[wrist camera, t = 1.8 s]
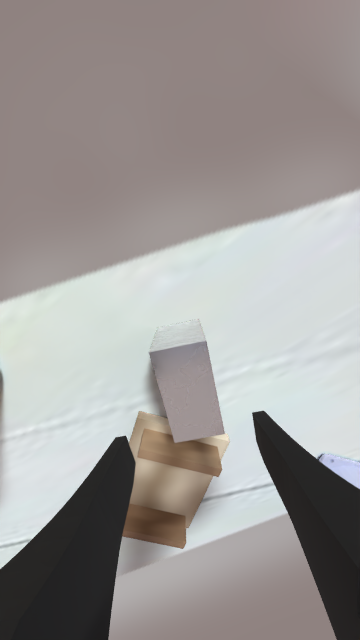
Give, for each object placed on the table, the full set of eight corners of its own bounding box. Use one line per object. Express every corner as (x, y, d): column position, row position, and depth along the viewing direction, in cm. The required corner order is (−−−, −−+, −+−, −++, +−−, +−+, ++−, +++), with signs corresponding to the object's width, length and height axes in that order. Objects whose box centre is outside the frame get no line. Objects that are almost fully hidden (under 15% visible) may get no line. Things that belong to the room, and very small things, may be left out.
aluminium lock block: (199, 318, 19) (206, 340, 14) (213, 391, 22) (224, 434, 16) (157, 327, 20) (148, 352, 14) (175, 398, 22) (174, 442, 17)
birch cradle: (227, 434, 23) (235, 464, 20) (187, 518, 27) (188, 556, 23) (139, 410, 22) (132, 438, 19) (110, 501, 26) (100, 538, 22)
